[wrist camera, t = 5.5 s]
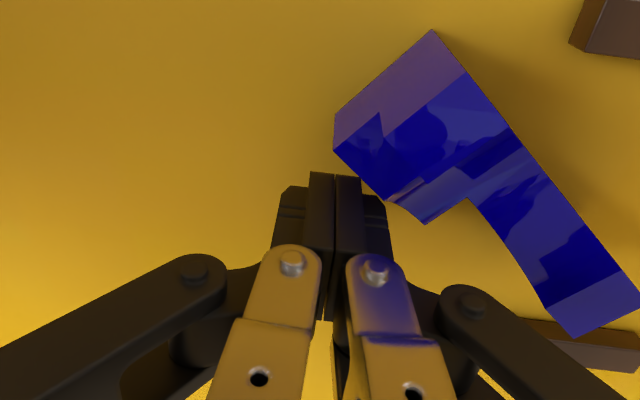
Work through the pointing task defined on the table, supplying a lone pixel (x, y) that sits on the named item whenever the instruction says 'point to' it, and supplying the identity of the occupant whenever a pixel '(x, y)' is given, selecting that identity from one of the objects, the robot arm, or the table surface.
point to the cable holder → (477, 180)
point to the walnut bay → (627, 42)
